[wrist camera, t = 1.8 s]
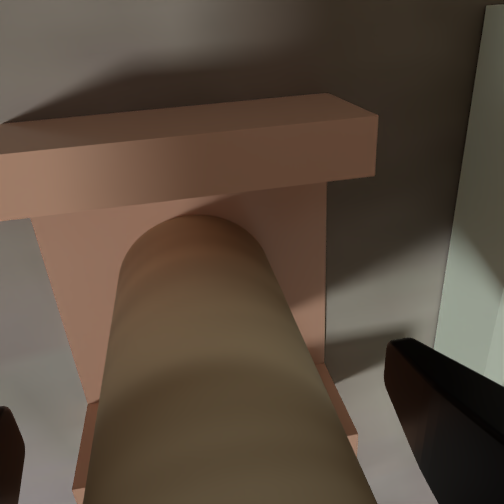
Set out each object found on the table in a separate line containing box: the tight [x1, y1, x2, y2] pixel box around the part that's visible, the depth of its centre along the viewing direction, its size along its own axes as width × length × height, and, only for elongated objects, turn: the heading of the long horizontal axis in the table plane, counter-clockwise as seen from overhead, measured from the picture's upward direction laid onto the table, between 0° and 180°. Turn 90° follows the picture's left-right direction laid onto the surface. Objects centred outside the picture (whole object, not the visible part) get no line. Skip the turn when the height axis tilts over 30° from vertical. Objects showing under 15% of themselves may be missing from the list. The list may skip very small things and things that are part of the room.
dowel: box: [83, 215, 377, 504], centre depth 7 cm, size 4×4×10 cm
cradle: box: [0, 93, 379, 504], centre depth 10 cm, size 8×6×3 cm
